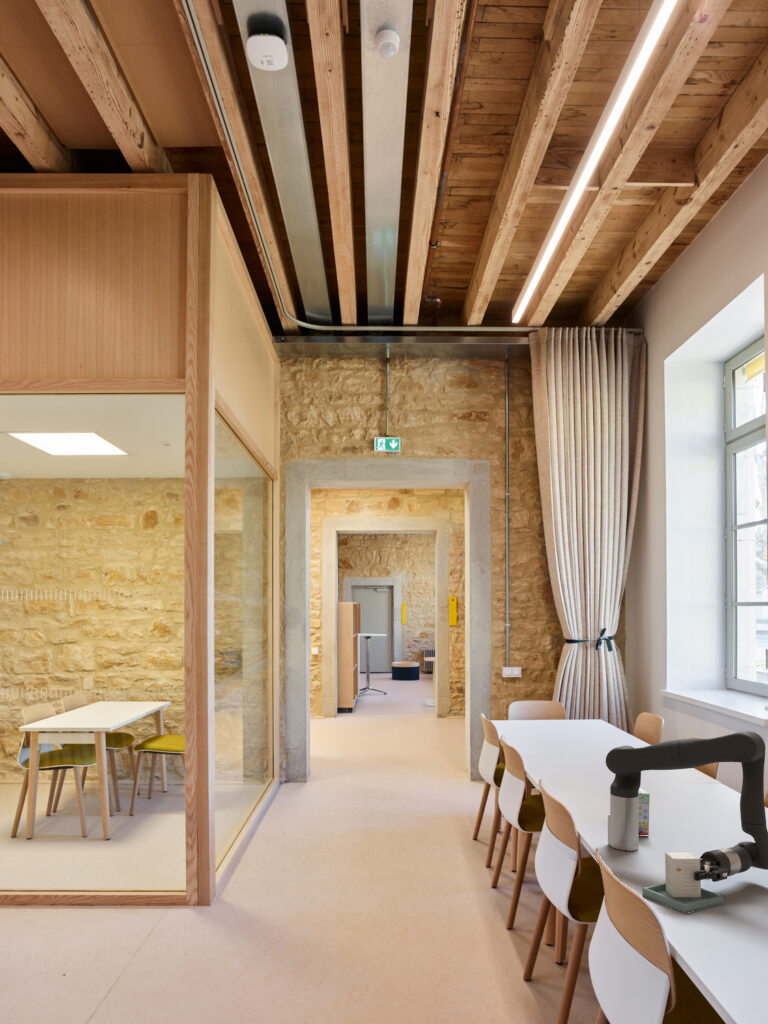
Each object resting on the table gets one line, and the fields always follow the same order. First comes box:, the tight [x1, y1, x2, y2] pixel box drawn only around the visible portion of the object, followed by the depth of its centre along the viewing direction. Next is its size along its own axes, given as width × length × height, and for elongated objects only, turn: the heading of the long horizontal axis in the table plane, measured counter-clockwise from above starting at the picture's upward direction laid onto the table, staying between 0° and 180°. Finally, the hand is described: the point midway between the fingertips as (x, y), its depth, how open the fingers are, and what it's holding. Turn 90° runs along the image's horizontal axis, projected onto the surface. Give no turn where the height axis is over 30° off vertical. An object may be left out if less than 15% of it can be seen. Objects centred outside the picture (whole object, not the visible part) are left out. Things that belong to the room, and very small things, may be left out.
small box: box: [664, 851, 702, 897], centre depth 225 cm, size 8×6×10 cm
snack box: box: [638, 786, 651, 835], centre depth 296 cm, size 21×6×15 cm, turn 179°
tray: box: [642, 882, 724, 914], centre depth 225 cm, size 15×16×2 cm
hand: (682, 872), depth 225 cm, fingers closed on small box, 7 cm apart
